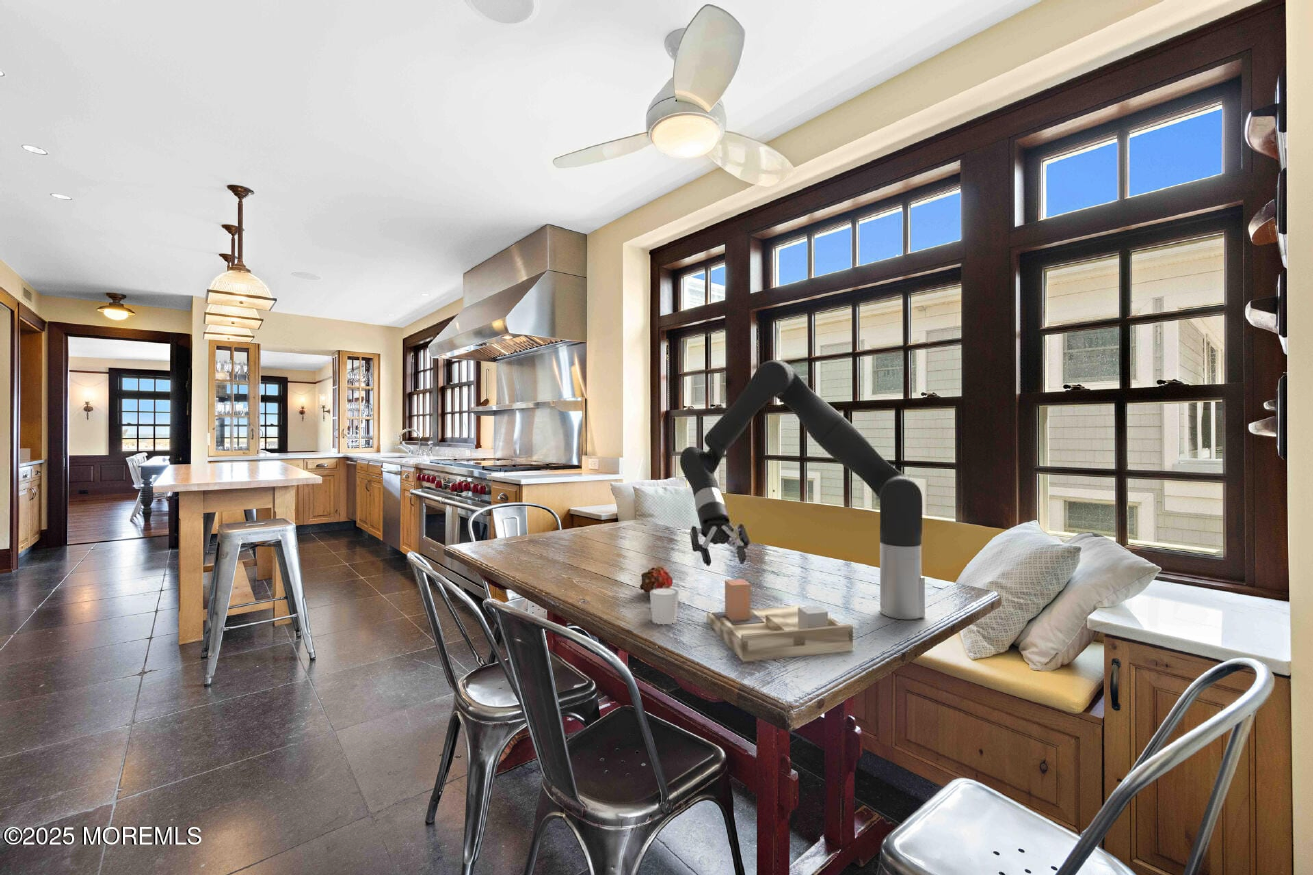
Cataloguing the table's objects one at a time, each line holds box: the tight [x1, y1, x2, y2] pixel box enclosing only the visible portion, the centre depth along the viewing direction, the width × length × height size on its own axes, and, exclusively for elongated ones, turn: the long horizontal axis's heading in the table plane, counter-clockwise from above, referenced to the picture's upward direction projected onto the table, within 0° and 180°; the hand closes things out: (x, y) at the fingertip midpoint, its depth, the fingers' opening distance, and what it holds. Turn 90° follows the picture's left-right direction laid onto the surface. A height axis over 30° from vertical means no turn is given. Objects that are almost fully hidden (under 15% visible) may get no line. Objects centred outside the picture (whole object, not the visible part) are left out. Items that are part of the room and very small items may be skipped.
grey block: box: [798, 605, 829, 629], centre depth 122 cm, size 4×4×5 cm
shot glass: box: [649, 587, 680, 626], centre depth 137 cm, size 7×7×7 cm
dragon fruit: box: [639, 565, 673, 596], centre depth 158 cm, size 8×8×12 cm
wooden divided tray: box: [706, 605, 854, 663], centre depth 126 cm, size 24×24×5 cm
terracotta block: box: [724, 578, 752, 621], centre depth 132 cm, size 4×4×8 cm
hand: (726, 563), depth 139 cm, fingers open, 8 cm apart
